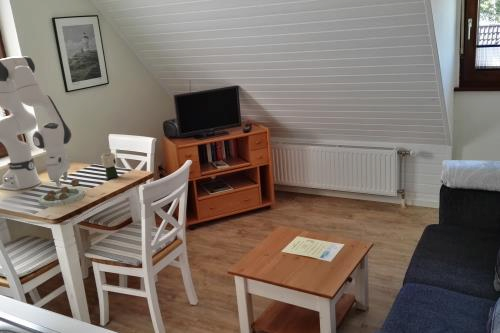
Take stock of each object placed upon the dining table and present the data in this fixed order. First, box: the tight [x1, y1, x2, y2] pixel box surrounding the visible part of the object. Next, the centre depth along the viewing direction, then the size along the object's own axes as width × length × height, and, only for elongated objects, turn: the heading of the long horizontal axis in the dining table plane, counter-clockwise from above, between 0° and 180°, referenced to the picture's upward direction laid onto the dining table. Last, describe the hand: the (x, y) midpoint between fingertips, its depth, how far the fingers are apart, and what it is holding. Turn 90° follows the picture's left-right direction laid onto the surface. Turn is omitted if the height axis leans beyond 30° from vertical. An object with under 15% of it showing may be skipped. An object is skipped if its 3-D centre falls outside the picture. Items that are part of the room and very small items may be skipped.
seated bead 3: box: [59, 193, 68, 200], centre depth 248 cm, size 4×4×4 cm
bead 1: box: [60, 186, 69, 193], centre depth 258 cm, size 4×4×4 cm
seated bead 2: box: [46, 194, 55, 201], centre depth 249 cm, size 4×4×4 cm
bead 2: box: [70, 178, 80, 187], centre depth 273 cm, size 4×4×4 cm
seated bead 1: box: [46, 189, 56, 196], centre depth 255 cm, size 4×4×4 cm
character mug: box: [100, 152, 119, 179], centre depth 280 cm, size 11×7×13 cm, turn 15°
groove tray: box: [38, 187, 85, 207], centre depth 254 cm, size 21×21×3 cm
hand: (62, 182), depth 258 cm, fingers open, 8 cm apart
